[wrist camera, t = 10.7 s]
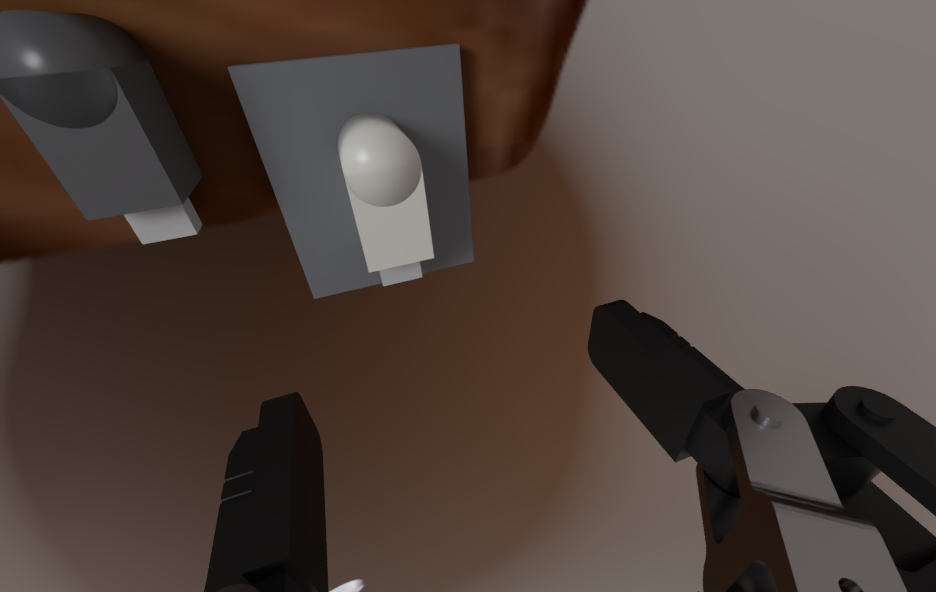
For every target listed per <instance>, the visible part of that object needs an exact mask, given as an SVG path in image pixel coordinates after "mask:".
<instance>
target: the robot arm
mask: <svg viewBox="0 0 936 592" xmlns="http://www.w3.org/2000/svg"><path fill="white" fill-rule="evenodd" d="M588 353H589V356H590V359H591V361H592V363H593V365H594V366H595V367H596V368H597V370H598V371H599V372H600V373H601V375H602V376H603V377H604V378H605V379H606V380H607V382H608V383H609V384H610V385H611V386H612V388H613V389H614V390H615V391H616V392H617V393H618V395H619V396H620V397H621V398H622V399H623V401H624V402H625V403H626V404H627V406H628V407H629V408H630V409H631V410H632V411H633V413H634V414H635V415H636V416H637V417H638V419H639V420H640V421H641V422H642V423H643V425H645V427H646V428H647V429H648V430H649V432H650V433H651V434H652V435H653V436H654V438H655V439H656V440H657V441H658V442H659V444H660V445H661V446H662V447H663V448H664V449H665V451H666V452H667V453H668V454H669V456H670V457H671V458H672V459H673V460H674V461H675V462H678V461H680V460H682V459H685V458H687V457H690V456H692V457H693V458H694V459H695V460H696V462H697V463H698V464H697V466H696V477H697V484H698V491H699V499H700V506H701V513H702V520H703V527H704V534H705V541H706V559H705V564H704V569H703V592H936V537H935V536H934V535H933V534H932V533H930V532H929V531H928V530H927V529H926V528H925V527H923V526H922V525H921V524H920V523H919V522H917V521H916V520H915V519H914V518H913V517H912V516H911V515H910V514H908V513H907V512H906V511H905V510H904V509H902V508H901V507H900V506H899V505H898V504H897V503H895V501H893V500H892V499H891V498H890V497H889V496H888V495H886V494H885V493H884V492H883V491H882V490H881V489H879V488H878V487H877V486H876V485H875V484H873V482H871V480H872V479H873V478H874V477H875V476H876V475H878V474H879V473H880V472H881V471H882V472H883V473H884V474H886V475H887V476H888V477H889V478H890V479H892V480H893V481H894V482H895V483H896V484H898V485H899V486H900V487H902V489H904V490H905V491H906V492H907V493H909V494H910V495H911V496H912V497H914V499H916V500H917V501H918V502H919V503H921V504H922V505H923V506H924V507H925V508H927V509H928V510H929V511H930V512H931V513H933V514H934V515H935V516H936V427H935V426H933V425H932V424H930V423H929V422H928V421H926V420H925V419H923V418H922V417H920V416H919V415H917V414H916V413H914V412H913V411H911V410H910V409H908V408H907V407H905V406H904V405H903V404H901V403H899V402H898V401H896V400H895V399H893V398H891V397H889V396H887V395H885V394H882V393H880V392H877V391H875V390H872V389H868V388H864V387H858V386H846V387H842V388H840V389H838V390H837V391H836V392H835V393H834V395H833V396H832V397H831V399H830V400H829V401H828V402H827V403H790V402H788V401H787V400H785V399H784V398H782V397H780V396H778V395H776V394H773V393H770V392H767V391H764V390H758V389H744V388H743V387H741V386H740V385H739V384H738V383H736V382H735V381H734V380H733V379H732V378H730V377H729V376H728V375H727V374H726V373H724V372H723V371H722V370H721V369H720V368H718V367H717V366H716V365H715V364H714V363H712V362H711V361H710V360H709V359H708V358H706V357H705V356H704V355H703V354H702V353H700V352H699V351H698V350H697V349H695V347H691V346H690V343H689V342H687V341H686V340H685V339H684V338H683V337H681V336H678V334H677V332H675V331H674V330H673V329H672V328H671V327H669V326H668V325H667V324H666V323H665V322H663V321H661V320H660V319H657V318H655V317H653V316H651V315H649V314H646V313H645V312H642V313H639V312H638V311H637V310H636V309H635V308H634V307H633V306H631V305H630V304H629V303H628V302H626V301H624V300H618V301H614V302H611V303H607V304H604V305H600V306H597V307H596V308H595V309H594V311H593V316H592V323H591V329H590V335H589V341H588ZM221 500H222V504H220V507H219V513H218V518H217V524H216V530H215V535H214V541H213V547H212V552H211V558H210V564H209V569H208V575H207V581H206V585H205V589H204V592H328V568H327V543H326V517H325V493H324V468H323V450H322V444H321V439H320V435H319V432H318V430H317V427H316V425H315V423H314V422H313V419H312V417H311V416H310V414H309V412H308V410H307V408H306V405H305V403H304V401H303V399H302V397H301V396H300V394H299V393H298V392H294V393H291V394H288V395H284V396H280V397H277V398H273V399H270V400H266V401H263V402H262V404H261V409H260V417H259V426H258V427H256V428H253V429H250V430H246V431H243V432H242V433H241V435H240V437H239V438H238V440H237V442H236V444H235V445H234V447H233V449H232V450H231V452H230V454H229V457H228V462H227V468H226V473H225V483H224V485H223V490H222V496H221Z"/></svg>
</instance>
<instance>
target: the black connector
mask: <svg viewBox="0 0 936 592" xmlns="http://www.w3.org/2000/svg"><path fill="white" fill-rule="evenodd" d="M0 97H1V98H2V100H3V101H4V103H5V104H6V106H7V107H8V108H9V110H10V111H11V113H12V114H13V116H14V117H15V118H16V120H17V121H18V123H19V124H20V125H21V127H22V128H23V130H24V131H25V133H26V134H27V135H28V137H29V138H30V140H31V141H32V143H33V144H34V145H35V147H36V148H37V150H38V151H39V153H40V154H41V155H42V157H43V158H44V160H45V161H46V162H47V164H48V165H49V167H50V168H51V170H52V171H53V172H54V174H55V175H56V177H57V178H58V180H59V181H60V182H61V184H62V185H63V187H64V188H65V190H66V191H67V192H68V194H69V195H70V197H71V198H72V200H73V201H74V202H75V204H76V205H77V207H78V208H79V209H80V211H81V212H82V214H83V215H84V217H85V218H86V219H87V221H89V220H95V219H101V218H107V217H113V216H119V215H124V216H125V217H126V219H127V221H128V222H129V224H130V225H131V227H132V229H133V230H134V232H135V233H136V235H137V236H138V238H139V240H140V241H141V243H142V244H147V243H153V242H158V241H164V240H169V239H174V238H180V237H185V236H190V235H196V234H198V232H199V230H200V228H201V227H202V223H201V221H200V219H199V217H198V215H197V213H196V211H195V209H194V207H193V205H192V203H191V201H190V199H189V195H190V194H191V193H192V191H193V190H194V188H195V187H196V186H197V184H198V183H199V181H200V180H201V179H202V177H203V174H202V172H201V170H200V168H199V166H198V164H197V162H196V160H195V158H194V156H193V153H192V151H191V149H190V147H189V145H188V143H187V141H186V139H185V137H184V135H183V132H182V130H181V128H180V126H179V124H178V122H177V120H176V118H175V116H174V114H173V111H172V109H171V107H170V105H169V103H168V101H167V99H166V97H165V95H164V92H163V90H162V88H161V86H160V84H159V82H158V80H157V78H156V76H155V74H154V71H153V69H152V67H151V65H150V63H149V61H148V59H147V57H146V55H145V54H144V52H143V51H142V49H141V48H140V47H139V45H138V44H137V43H136V42H135V41H134V40H133V39H132V38H131V37H130V36H129V35H128V34H127V33H125V32H124V31H123V30H121V29H120V28H119V27H117V26H116V25H114V24H112V23H110V22H108V21H106V20H104V19H102V18H99V17H96V16H92V15H88V14H79V13H63V12H47V11H31V10H7V11H2V12H0Z"/></svg>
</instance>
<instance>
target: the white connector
mask: <svg viewBox="0 0 936 592" xmlns="http://www.w3.org/2000/svg"><path fill="white" fill-rule="evenodd" d="M338 152H339V157H340V161H341V165H342V169H343V174H344V178H345V182H346V186H347V189H348V193H349V197H350V201H351V205H352V209H353V213H354V217H355V221H356V224H357V228H358V232H359V236H360V240H361V244H362V248H363V252H364V255H365V259H366V263H367V267H368V271H369V273H370V272H375V271H379V272H380V277H381V280H382V284H383V286H387V285H391V284H395V283H400V282H404V281H408V280H412V279H417V278H420V277H422V272H421V266H420V261H423V260H428V259H432V258H434V253H433V246H432V238H431V231H430V224H429V216H428V209H427V202H426V194H425V187H424V179H423V172H422V165H421V159H420V156H419V153H418V151H417V149H416V147H415V146H414V144H413V143H412V142H411V141H410V140H409V139H408V137H407V136H406V135H405V134H404V133H403V132H402V131H401V130H400V129H399V127H398V126H397V125H396V124H395V123H394V122H393V121H392V120H391V119H389V118H388V117H386V116H384V115H382V114H380V113H376V112H362V113H359V114H356V115H354V116H352V117H351V118H350V119H348V120H347V121H346V122H345V124H344V125H343V126H342V128H341V130H340V133H339V136H338Z"/></svg>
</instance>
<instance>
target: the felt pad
mask: <svg viewBox="0 0 936 592" xmlns="http://www.w3.org/2000/svg"><path fill="white" fill-rule="evenodd" d="M227 68H228V71H229V73H230V76H231V79H232V81H233V84H234V87H235V89H236V92H237V95H238V97H239V100H240V103H241V105H242V108H243V111H244V113H245V116H246V119H247V121H248V124H249V126H250V129H251V132H252V134H253V137H254V140H255V142H256V145H257V148H258V150H259V153H260V156H261V158H262V161H263V164H264V166H265V169H266V172H267V174H268V177H269V180H270V182H271V185H272V188H273V190H274V193H275V196H276V198H277V201H278V204H279V206H280V209H281V212H282V214H283V217H284V219H285V222H286V225H287V228H288V230H289V233H290V236H291V238H292V241H293V244H294V246H295V249H296V252H297V254H298V257H299V260H300V262H301V265H302V267H303V270H304V273H305V275H306V278H307V281H308V283H309V286H310V289H311V291H312V294H313V297H314V299H316V298H321V297H325V296H329V295H333V294H338V293H342V292H346V291H350V290H355V289H359V288H363V287H368V286H372V285H376V284H380V283H382V280H381V277H380V272H379V271H375V272H370V273H369V271H368V267H367V263H366V259H365V255H364V252H363V248H362V244H361V240H360V236H359V232H358V228H357V224H356V221H355V217H354V213H353V209H352V205H351V201H350V197H349V193H348V189H347V186H346V182H345V178H344V174H343V169H342V165H341V161H340V157H339V152H338V136H339V133H340V130H341V128H342V126H343V125H344V124H345V122H346V121H347V120H348V119H350V118H351V117H352V116H354V115H356V114H359V113H362V112H376V113H380V114H382V115H384V116H386V117H388V118H389V119H391V120H392V121H393V122H394V123H395V124H396V125H397V126H398V127H399V129H400V130H401V131H402V132H403V133H404V134H405V135H406V136H407V137H408V139H409V140H410V141H411V142H412V143H413V144H414V146H415V147H416V149H417V151H418V153H419V156H420V159H421V165H422V172H423V179H424V187H425V194H426V202H427V209H428V216H429V224H430V231H431V238H432V246H433V253H434V258H432V259H428V260H423V261H420V266H421V272H422V274H423V273H427V272H431V271H436V270H440V269H444V268H448V267H452V266H457V265H461V264H466V263H470V262H474V251H473V238H472V237H473V236H472V222H471V207H470V192H469V177H468V163H467V148H466V133H465V118H464V104H463V89H462V74H461V59H460V45H459V44H456V43H452V44H442V45H432V46H422V47H412V48H402V49H392V50H382V51H372V52H362V53H352V54H342V55H332V56H322V57H312V58H302V59H292V60H282V61H272V62H262V63H252V64H242V65H232V66H229V67H227Z"/></svg>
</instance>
